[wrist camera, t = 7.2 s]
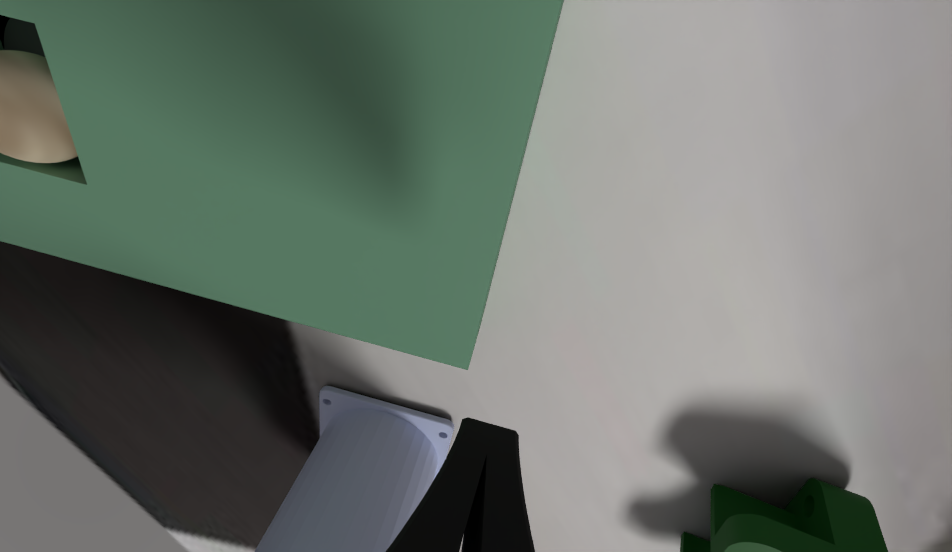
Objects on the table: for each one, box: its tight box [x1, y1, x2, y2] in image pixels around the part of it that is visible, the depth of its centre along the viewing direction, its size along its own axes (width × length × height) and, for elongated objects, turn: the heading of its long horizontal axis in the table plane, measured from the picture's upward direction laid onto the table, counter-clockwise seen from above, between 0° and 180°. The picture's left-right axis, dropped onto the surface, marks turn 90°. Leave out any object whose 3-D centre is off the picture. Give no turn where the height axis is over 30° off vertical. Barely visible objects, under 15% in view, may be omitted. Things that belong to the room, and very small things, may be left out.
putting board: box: [0, 0, 564, 370], centre depth 17 cm, size 24×14×3 cm, turn 79°
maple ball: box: [0, 50, 78, 163], centre depth 17 cm, size 4×4×4 cm
